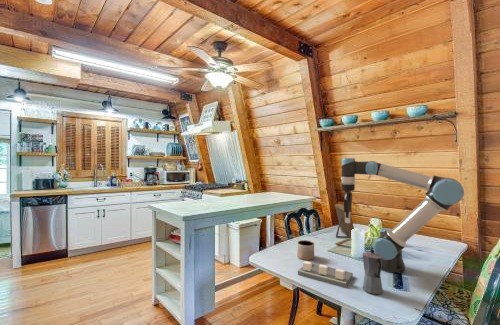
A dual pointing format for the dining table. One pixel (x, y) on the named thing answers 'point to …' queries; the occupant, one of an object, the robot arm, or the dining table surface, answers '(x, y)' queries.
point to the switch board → (326, 276)
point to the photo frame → (343, 221)
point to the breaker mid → (323, 269)
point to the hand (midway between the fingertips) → (347, 222)
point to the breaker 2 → (339, 274)
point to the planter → (305, 250)
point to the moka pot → (372, 272)
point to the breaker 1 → (307, 266)
